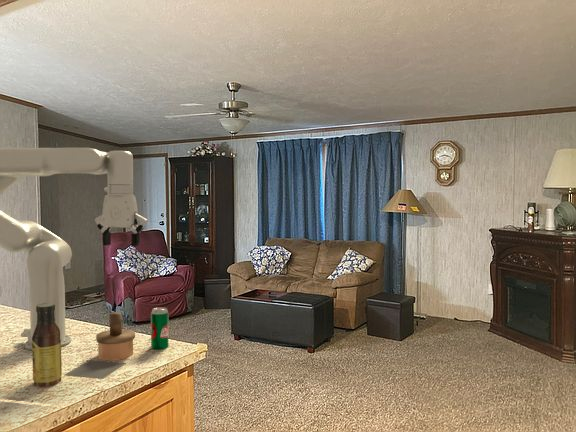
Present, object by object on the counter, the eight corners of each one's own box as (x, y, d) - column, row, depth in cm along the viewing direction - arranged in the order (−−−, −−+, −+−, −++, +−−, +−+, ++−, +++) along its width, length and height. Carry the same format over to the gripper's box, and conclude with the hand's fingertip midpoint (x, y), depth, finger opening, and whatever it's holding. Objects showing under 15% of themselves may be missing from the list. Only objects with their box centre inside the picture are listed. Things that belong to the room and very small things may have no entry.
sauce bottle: (40, 379, 116) (38, 300, 115) (66, 379, 117) (64, 300, 116) (27, 390, 110) (26, 307, 109) (55, 389, 110) (54, 306, 109)
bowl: (91, 360, 130) (91, 342, 130) (110, 349, 139) (110, 332, 139) (121, 363, 128) (121, 344, 128) (139, 352, 137) (138, 334, 137)
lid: (88, 342, 129) (88, 317, 129) (109, 331, 139) (109, 308, 139) (122, 345, 127) (122, 319, 127) (141, 334, 137) (141, 310, 137)
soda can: (163, 351, 137) (163, 311, 137) (147, 350, 138) (147, 310, 138) (171, 346, 142) (171, 307, 142) (156, 345, 143) (155, 306, 143)
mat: (63, 376, 118) (63, 374, 118) (90, 361, 129) (90, 359, 129) (102, 380, 116) (102, 378, 116) (126, 364, 127) (126, 363, 127)
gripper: (88, 190, 143) (88, 246, 144) (139, 190, 140) (140, 247, 141) (102, 190, 150) (103, 243, 151) (151, 191, 147) (152, 245, 148)
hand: (120, 245), depth 146 cm, fingers open, 9 cm apart
